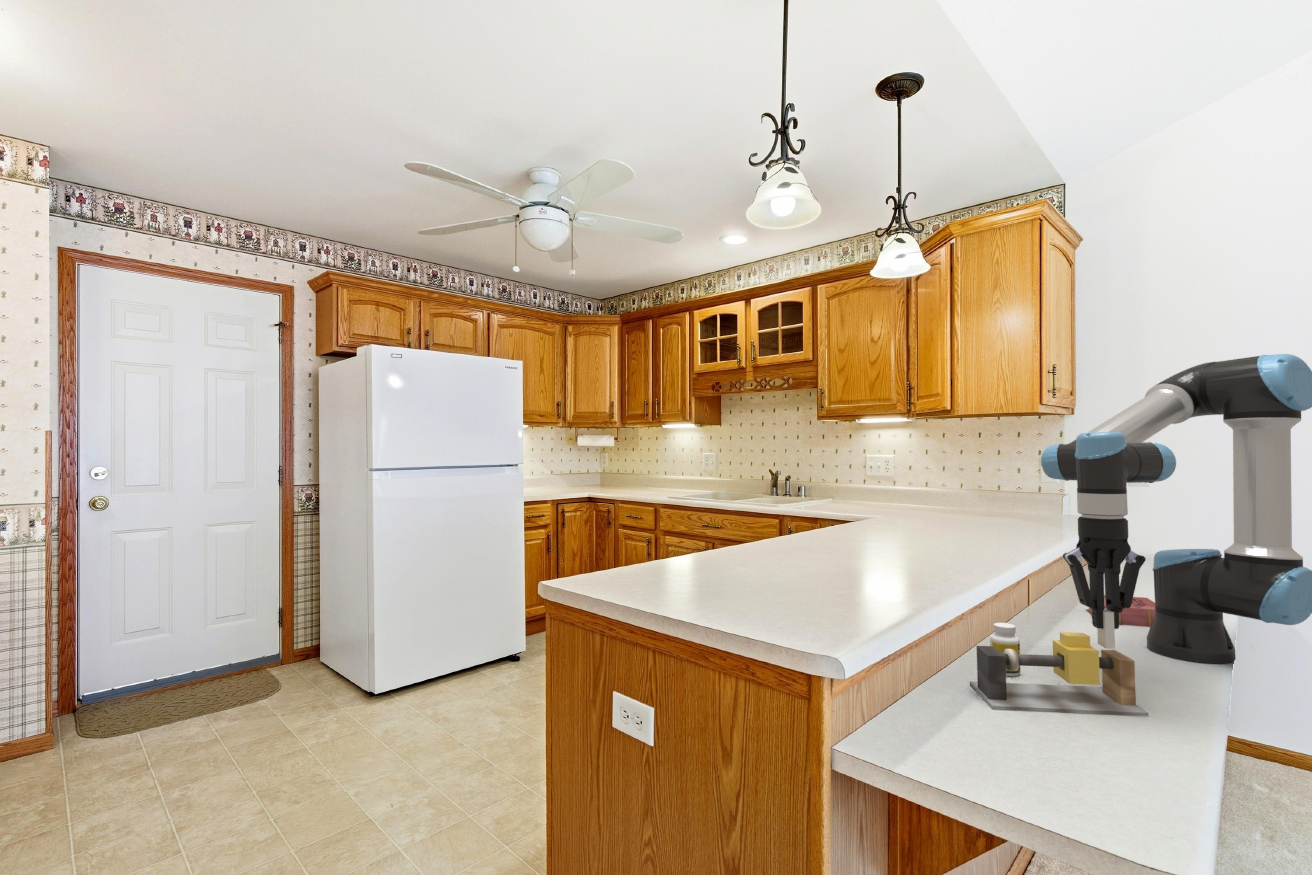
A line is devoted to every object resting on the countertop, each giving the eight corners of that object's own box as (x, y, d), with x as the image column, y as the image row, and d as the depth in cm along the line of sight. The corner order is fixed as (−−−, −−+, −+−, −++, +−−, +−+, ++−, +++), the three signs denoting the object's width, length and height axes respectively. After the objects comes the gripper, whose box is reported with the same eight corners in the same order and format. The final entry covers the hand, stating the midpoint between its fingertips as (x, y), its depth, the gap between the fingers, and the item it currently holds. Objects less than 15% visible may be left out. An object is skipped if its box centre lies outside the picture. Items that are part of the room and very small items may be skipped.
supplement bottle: (1024, 677, 126) (1023, 629, 127) (995, 676, 128) (994, 627, 128) (1015, 668, 132) (1013, 621, 132) (987, 667, 133) (985, 620, 133)
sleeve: (1082, 673, 117) (1081, 630, 118) (1099, 684, 111) (1098, 639, 112) (1053, 672, 118) (1052, 629, 118) (1069, 683, 112) (1067, 638, 112)
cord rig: (1109, 690, 119) (1107, 643, 120) (1148, 716, 107) (1146, 663, 108) (969, 684, 123) (968, 638, 123) (992, 709, 111) (991, 658, 112)
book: (1100, 625, 165) (1100, 606, 165) (1086, 611, 179) (1085, 593, 179) (1168, 630, 159) (1167, 610, 159) (1147, 615, 173) (1147, 597, 174)
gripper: (1129, 514, 118) (1133, 641, 117) (1053, 514, 119) (1057, 638, 119) (1154, 518, 110) (1159, 653, 109) (1073, 518, 112) (1077, 651, 111)
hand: (1106, 646), depth 114 cm, fingers closed
